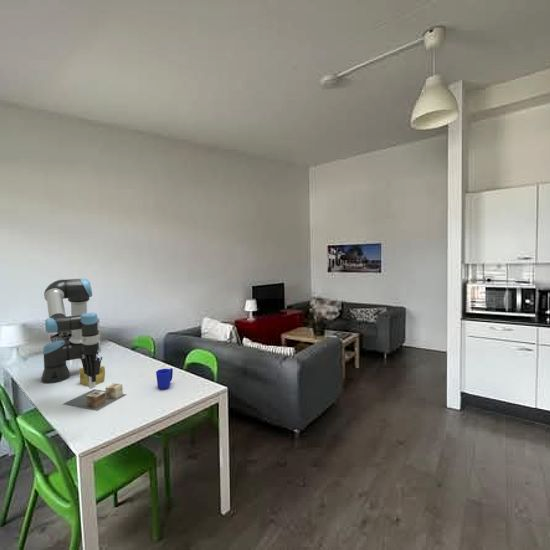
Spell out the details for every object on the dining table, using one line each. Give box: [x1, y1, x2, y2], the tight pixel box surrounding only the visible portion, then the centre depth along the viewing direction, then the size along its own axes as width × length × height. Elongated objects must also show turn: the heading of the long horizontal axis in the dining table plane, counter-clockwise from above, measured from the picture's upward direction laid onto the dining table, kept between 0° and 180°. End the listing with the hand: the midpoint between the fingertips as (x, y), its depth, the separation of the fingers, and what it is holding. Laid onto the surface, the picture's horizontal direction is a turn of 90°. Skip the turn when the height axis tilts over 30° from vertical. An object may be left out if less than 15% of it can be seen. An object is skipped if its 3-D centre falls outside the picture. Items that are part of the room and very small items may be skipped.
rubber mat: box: [62, 388, 128, 412], centre depth 177 cm, size 24×20×1 cm
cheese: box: [79, 364, 106, 388], centre depth 201 cm, size 10×11×10 cm
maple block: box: [104, 382, 124, 399], centre depth 180 cm, size 6×6×6 cm
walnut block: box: [87, 390, 106, 408], centre depth 170 cm, size 6×6×6 cm
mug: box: [155, 367, 174, 390], centre depth 194 cm, size 8×12×10 cm
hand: (92, 387), depth 171 cm, fingers closed
